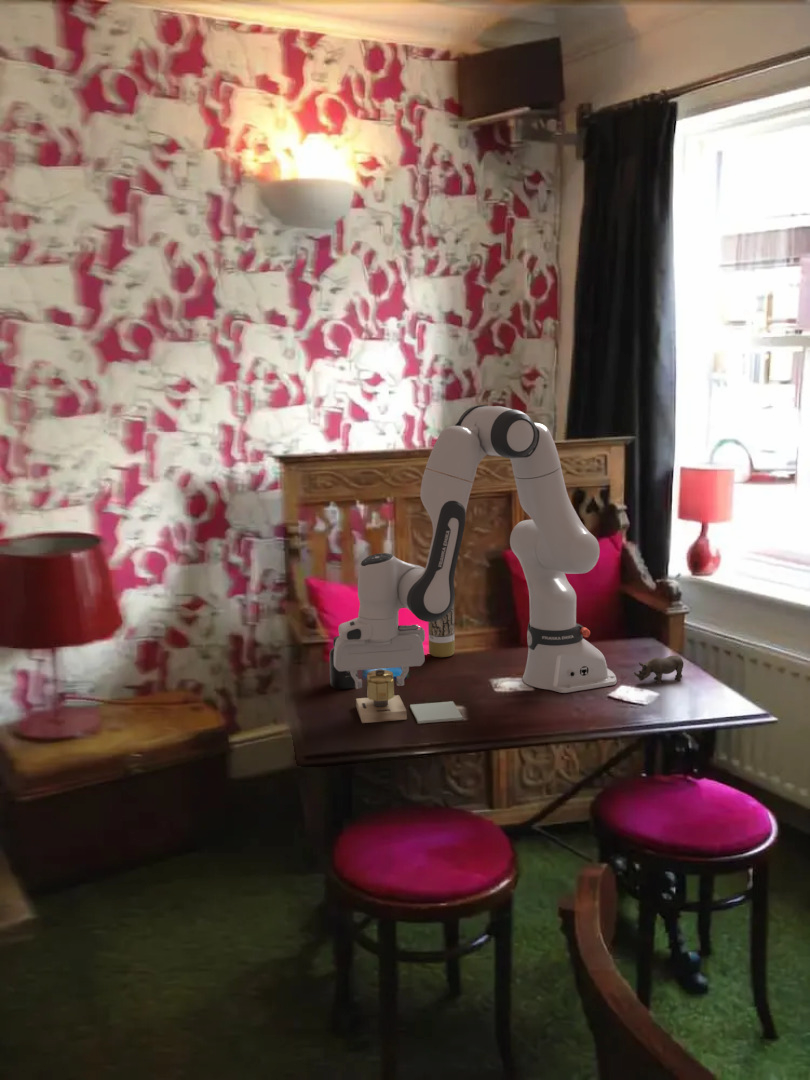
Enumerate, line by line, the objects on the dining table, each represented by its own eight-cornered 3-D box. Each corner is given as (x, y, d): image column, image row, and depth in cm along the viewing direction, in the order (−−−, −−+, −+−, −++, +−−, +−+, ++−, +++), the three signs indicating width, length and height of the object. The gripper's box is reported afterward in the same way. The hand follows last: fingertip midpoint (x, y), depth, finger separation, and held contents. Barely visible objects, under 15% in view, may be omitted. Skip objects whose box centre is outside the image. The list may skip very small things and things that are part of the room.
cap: (390, 689, 232) (390, 664, 231) (396, 700, 225) (395, 675, 224) (365, 691, 231) (364, 666, 230) (370, 703, 224) (369, 677, 223)
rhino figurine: (628, 681, 246) (629, 657, 245) (678, 675, 250) (679, 651, 249) (637, 687, 242) (638, 663, 241) (688, 680, 246) (689, 656, 245)
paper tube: (435, 659, 265) (434, 566, 260) (424, 652, 271) (423, 561, 266) (459, 655, 267) (458, 563, 262) (447, 648, 273) (446, 558, 268)
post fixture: (399, 703, 234) (398, 670, 233) (406, 719, 225) (406, 685, 223) (356, 706, 233) (355, 673, 231) (362, 723, 223) (360, 688, 221)
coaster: (452, 703, 233) (452, 701, 233) (462, 719, 224) (462, 717, 224) (410, 707, 232) (410, 704, 232) (418, 723, 222) (418, 721, 222)
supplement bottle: (354, 690, 243) (353, 642, 241) (327, 689, 244) (325, 641, 242) (361, 681, 250) (360, 634, 247) (334, 679, 251) (333, 633, 249)
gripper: (422, 620, 229) (422, 678, 232) (331, 625, 226) (333, 684, 229) (427, 628, 223) (427, 687, 226) (334, 633, 220) (336, 694, 223)
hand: (379, 686), depth 227 cm, fingers open, 8 cm apart
